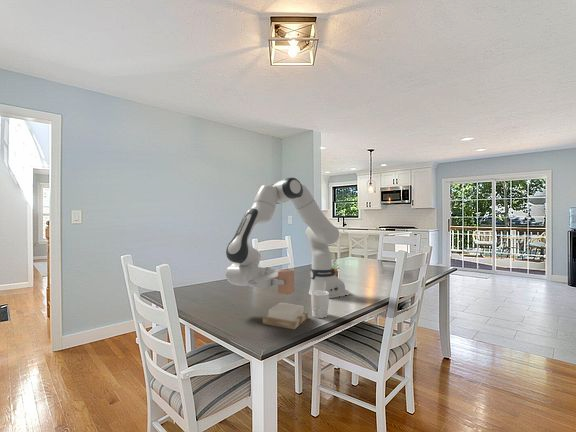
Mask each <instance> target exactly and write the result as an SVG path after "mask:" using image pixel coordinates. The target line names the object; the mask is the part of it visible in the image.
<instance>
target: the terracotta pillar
mask: <svg viewBox="0 0 576 432" xmlns="http://www.w3.org/2000/svg"><path fill="white" fill-rule="evenodd" d="M280 270H281V271H278V280H285V284H284V285H277V294H280V295H286V296H287V295H289V296H290V295H291V294H293V293H294V292H295V270H293V269H292V270H291V269H280Z"/></svg>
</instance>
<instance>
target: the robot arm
mask: <svg viewBox="0 0 576 432" xmlns="http://www.w3.org/2000/svg"><path fill="white" fill-rule="evenodd" d="M289 201H291V202H292V204H293V205H294V207H295V209H296V212H297V213H298V214H299V217H300V218H301V219H302V221H303V223H305V224H306V225H307V227H306V229H305V235H306V238H307V239H308V244H309V248H310V253H311V268H310V284H309V285H310V286H309V291H308V294H309V296H311V292H312V291H326V292H329V299H333V298H339V296H340V297H345V295H347V296H350V295H349V294H350V291H349V290H347V289H346V284H345V282H344V281H343V280H342V279H340V278H339V277H338V276H337V274H338V273H339V270H338V269H334V268H332V267H333V266H332V265H333V264H332V263H333V261H332V256H333V255H332V252H331V250H330V249H329V245H332V244H336V242H338V240H339V238H340V231H339V229H338V228H337V226H335V225H334V224H333V223H331V221H330V219H328V218H327V217H326V215H325V214H324V213H323V211H322V210H321V208H320V207H319V205H318V203H317V201H316V200H315V198H314V196H313V195H312V193H311V191H310V190H309V188H307V187H306V185H304V184H302V183H301V181H299V179H297V178H296V177H287V178H284V179H281V180H278V181H277V182H275V183H273V184H263V185H261V186H260V187H259V189H258V191H257V193H256V195H255V197H254V199H253V202H252V204H251V207H250V208H249V209H247V211H246V212H245V214H244V216H242V219H241V221H240V223H239V226H238V228H237V230H236V231H235V233H234V236H233V237H232V239H231V241H230V242H229V243H228V244H227V247H226V251H225V254H226V255H225V256H226V258H227V259H228V260H229V261H230V262H232V263H231V264H230V265H229V266H227V267H226V269H225V278H226V280H227V282H229V283H230V284H232V285H235V286H238V287H239V286H240V287H246V286H247V287H250V288H256V289H262V290H266V289H269V288H271V287H273V286H278V285H284V284H285V280H278V271H281V270H282V269H276V268H272V267H261V266H259V264H260V261H261V254H260V252H259V251H258V250H257V249H256V248H255V247H253V246H252V245H250V244H249V238H250V236H251V233H252V231H253V229H254V227H255V225H256V224H266V223H269V222H270V221H271V220H272V218H273V216H274V213H275V210H276V206H277V204H281V203H282V204H283V203H286V202H289Z"/></svg>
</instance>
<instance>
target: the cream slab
mask: <svg viewBox="0 0 576 432" xmlns="http://www.w3.org/2000/svg"><path fill="white" fill-rule="evenodd" d="M304 312H305V310H304V305H301V304H296V303H295V304H294V303H286V302H279V303H277V304H275V305H274V306H273V307H270V308H268V314H267V315H268V317H271V318H277V319H283V320H289V321H294V320H295V319H297V318H298V317H299V316H300V315H301V314H303V313H304Z"/></svg>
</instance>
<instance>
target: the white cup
mask: <svg viewBox="0 0 576 432" xmlns="http://www.w3.org/2000/svg"><path fill="white" fill-rule="evenodd" d="M310 298H311V315H312V317H314V318H316V317H317V319H324V317H325V318H327V317H328V316H329V304H330V303H329V301H330V298H329V292H326V291H312V292H311V295H310Z"/></svg>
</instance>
